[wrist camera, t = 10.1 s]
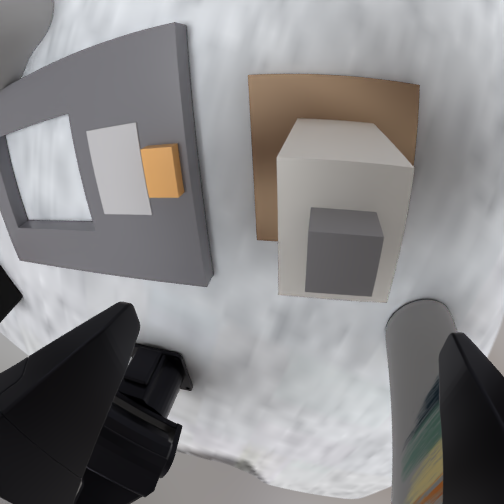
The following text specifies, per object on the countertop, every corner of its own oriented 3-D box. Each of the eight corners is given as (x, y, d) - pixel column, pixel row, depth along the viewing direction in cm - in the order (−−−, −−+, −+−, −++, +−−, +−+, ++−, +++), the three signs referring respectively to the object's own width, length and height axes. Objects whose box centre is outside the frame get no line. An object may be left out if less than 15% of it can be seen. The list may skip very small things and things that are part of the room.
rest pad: (397, 245, 18) (398, 250, 18) (258, 235, 20) (256, 240, 20) (416, 84, 13) (419, 85, 12) (250, 74, 15) (247, 75, 14)
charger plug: (366, 209, 17) (391, 332, 9) (297, 204, 18) (271, 324, 10) (373, 123, 14) (430, 186, 6) (297, 118, 15) (267, 173, 7)
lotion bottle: (422, 354, 23) (431, 582, 7) (371, 337, 23) (356, 597, 7) (463, 310, 20) (506, 567, 3) (411, 287, 20) (435, 598, 3)
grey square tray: (213, 274, 23) (203, 294, 21) (28, 252, 27) (15, 264, 25) (186, 25, 14) (167, 20, 12) (-14, 102, 18) (-31, 108, 16)
